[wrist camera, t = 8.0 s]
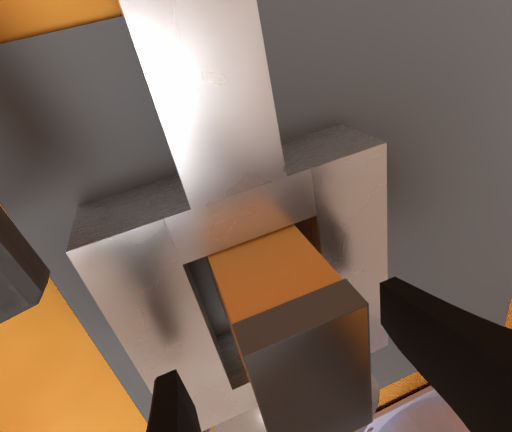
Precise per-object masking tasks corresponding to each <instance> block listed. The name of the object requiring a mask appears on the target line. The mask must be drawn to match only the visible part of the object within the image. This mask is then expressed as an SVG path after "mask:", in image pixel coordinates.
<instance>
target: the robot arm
mask: <svg viewBox="0 0 512 432" xmlns="http://www.w3.org/2000/svg"><path fill="white" fill-rule="evenodd" d="M379 285H380V322H381V325H382V327H383V328H384V329H385V331H386V332H387V334H388V335H389V337H390V338H391V340H392V341H393V342H394V344H395V345H396V346H397V348H398V349H399V350H400V351H401V353H402V354H403V355H404V356H405V357H406V358H407V359H408V361H409V362H410V363H411V364H412V365H413V366H414V367H415V368H416V370H417V371H418V372H419V373H420V374H421V375H422V376H423V377H424V378H425V379H426V381H427V382H428V383H429V384H430V386H428V387H426V388H424V389H422V390H420V391H418V392H416V393H414V394H412V395H410V396H408V397H406V398H404V399H402V400H401V401H399V402H397V403H395V404H393V405H391V406H389V407H387V408H385V409H383V410H381V411H379V412H377V413H375V414H374V416H373V422H372V423H370V424H369V425H368V426H367V428H366V429H365V431H364V432H512V329H509V328H506V327H504V326H501V325H499V324H496V323H494V322H491V321H489V320H487V319H484V318H482V317H479V316H477V315H475V314H472V313H470V312H468V311H466V310H463V309H461V308H459V307H457V306H455V305H452V304H450V303H448V302H446V301H444V300H442V299H440V298H438V297H436V296H434V295H432V294H429V293H427V292H425V291H423V290H421V289H419V288H417V287H415V286H413V285H411V284H409V283H407V282H405V281H403V280H401V279H399V278H397V277H392V278H390V279H387V280H385V281H383V282H380V283H379ZM146 432H201V428H200V424H199V419H198V415H197V411H196V407H195V405H194V403H193V401H192V399H191V397H190V395H189V393H188V391H187V389H186V387H185V386H184V384H183V382H182V380H181V378H180V376H179V374H178V372H177V370H176V369H175V370H172V371H170V372H167V373H165V374H163V375H160V376H158V377H156V379H155V381H154V388H153V395H152V402H151V409H150V414H149V420H148V425H147V430H146Z"/></svg>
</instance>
